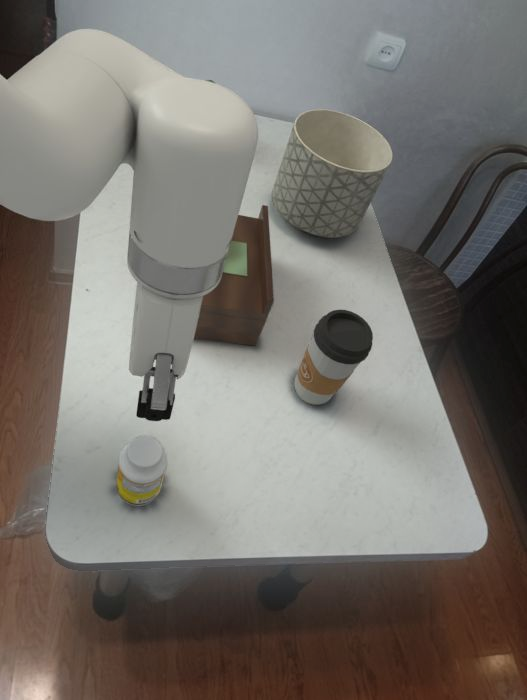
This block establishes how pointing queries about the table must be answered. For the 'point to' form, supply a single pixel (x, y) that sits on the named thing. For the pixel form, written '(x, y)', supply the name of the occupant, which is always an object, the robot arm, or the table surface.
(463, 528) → the table surface
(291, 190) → the planter
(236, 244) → the shelf
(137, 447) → the supplement bottle
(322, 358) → the coffee cup
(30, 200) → the robot arm
